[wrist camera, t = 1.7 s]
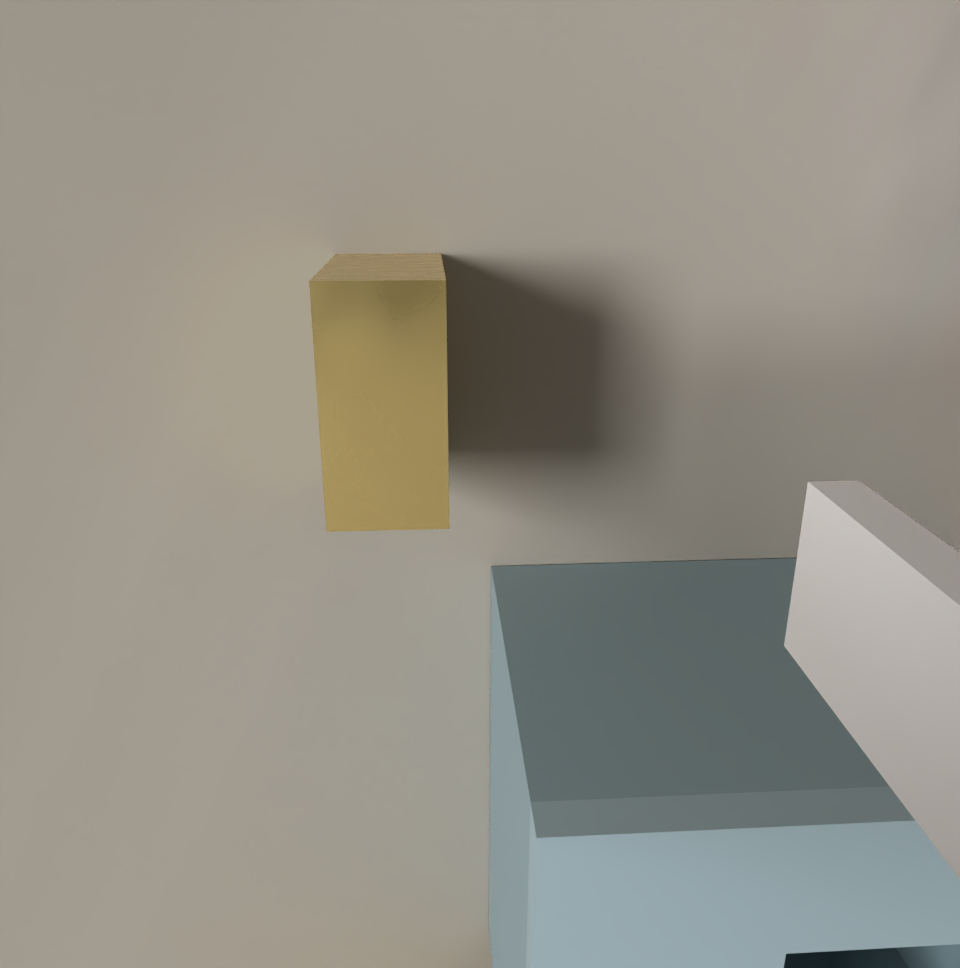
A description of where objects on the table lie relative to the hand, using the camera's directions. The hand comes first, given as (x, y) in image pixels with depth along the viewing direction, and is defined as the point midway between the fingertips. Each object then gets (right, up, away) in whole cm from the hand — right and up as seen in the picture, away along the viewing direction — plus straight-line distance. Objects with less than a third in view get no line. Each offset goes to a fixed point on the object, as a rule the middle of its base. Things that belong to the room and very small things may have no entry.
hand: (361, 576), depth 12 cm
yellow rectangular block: (-1, +5, +13) cm, 14 cm away
